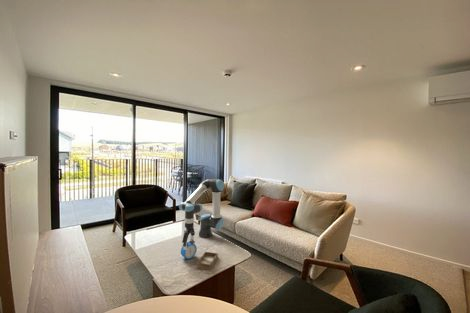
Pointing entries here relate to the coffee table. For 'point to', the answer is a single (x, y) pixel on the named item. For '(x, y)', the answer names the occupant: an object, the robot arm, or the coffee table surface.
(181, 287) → the coffee table surface
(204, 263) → the open rectangular wooden box
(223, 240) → the coffee table surface
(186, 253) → the alarm clock
